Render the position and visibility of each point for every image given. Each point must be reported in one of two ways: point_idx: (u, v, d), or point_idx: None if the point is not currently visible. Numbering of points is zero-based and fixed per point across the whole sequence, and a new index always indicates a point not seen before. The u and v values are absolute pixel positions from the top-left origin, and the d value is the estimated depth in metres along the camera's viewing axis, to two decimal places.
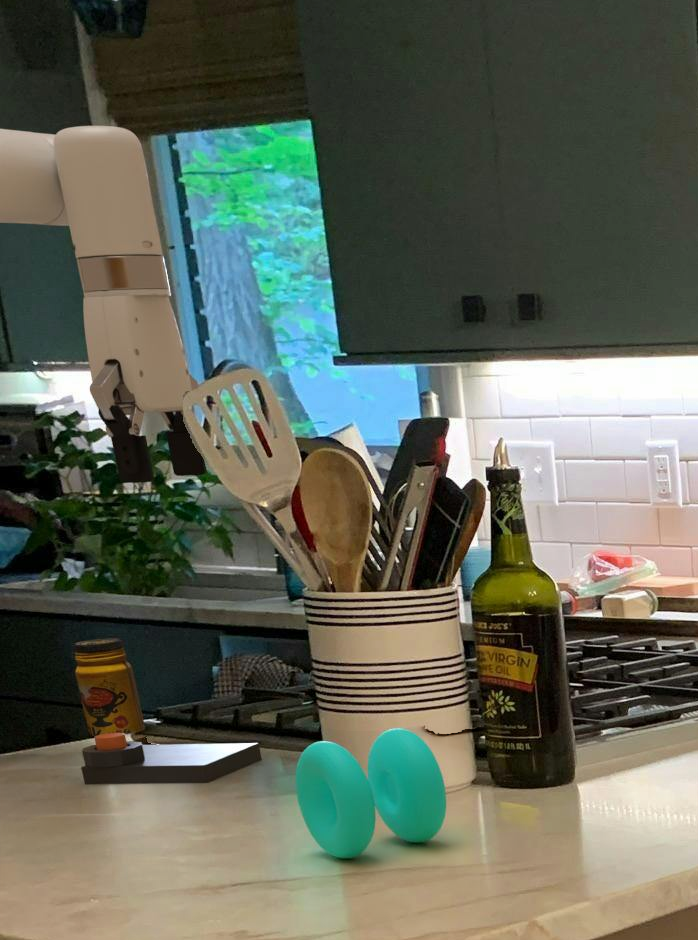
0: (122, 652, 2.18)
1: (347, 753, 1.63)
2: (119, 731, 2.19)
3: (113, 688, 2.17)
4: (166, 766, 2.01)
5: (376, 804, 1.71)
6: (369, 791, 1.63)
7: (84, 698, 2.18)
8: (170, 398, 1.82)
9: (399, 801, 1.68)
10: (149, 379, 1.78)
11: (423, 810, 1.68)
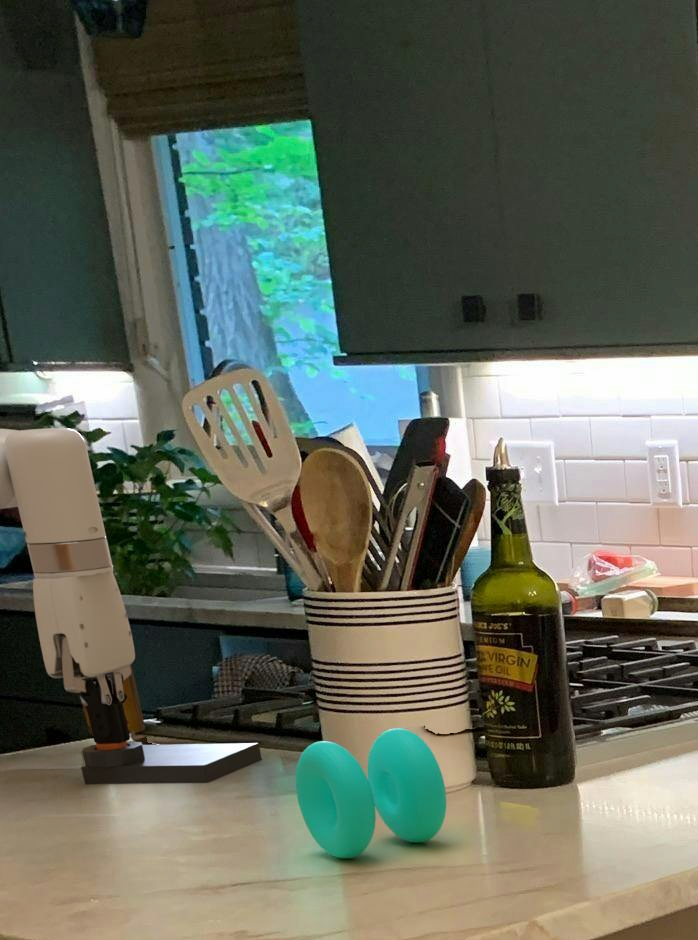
0: None
1: (347, 753, 1.63)
2: None
3: None
4: (166, 766, 2.01)
5: (376, 804, 1.71)
6: (369, 791, 1.63)
7: None
8: (114, 661, 2.00)
9: (399, 801, 1.68)
10: (94, 649, 1.96)
11: (423, 810, 1.68)
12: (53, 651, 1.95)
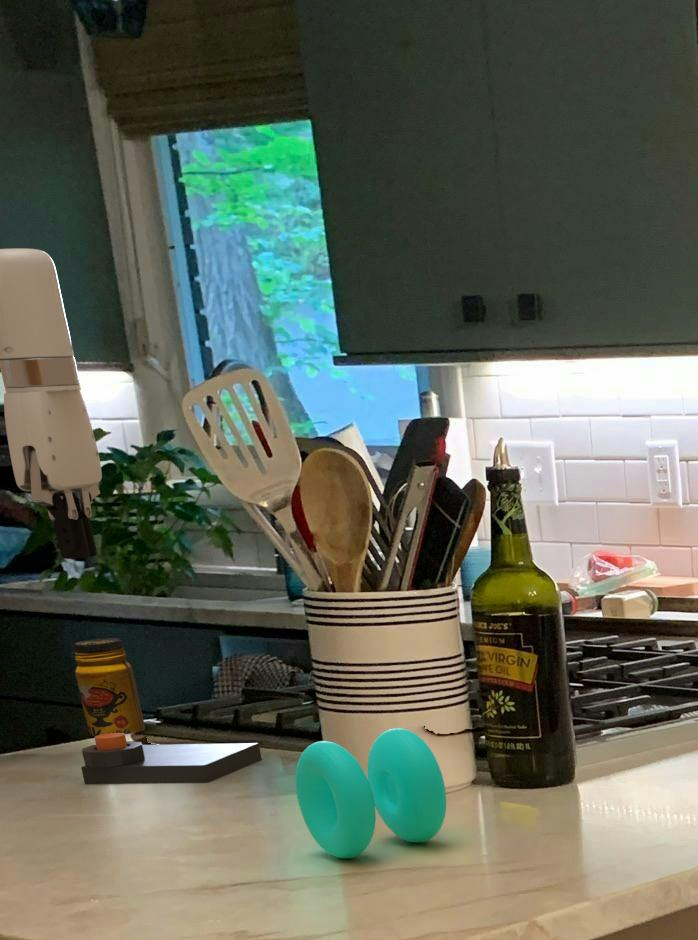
0: (122, 652, 2.18)
1: (347, 753, 1.63)
2: (119, 731, 2.19)
3: (113, 688, 2.17)
4: (166, 766, 2.01)
5: (376, 804, 1.71)
6: (369, 791, 1.63)
7: (84, 698, 2.18)
8: (81, 477, 2.11)
9: (399, 801, 1.68)
10: (61, 462, 2.07)
11: (423, 810, 1.68)
12: (22, 463, 2.06)
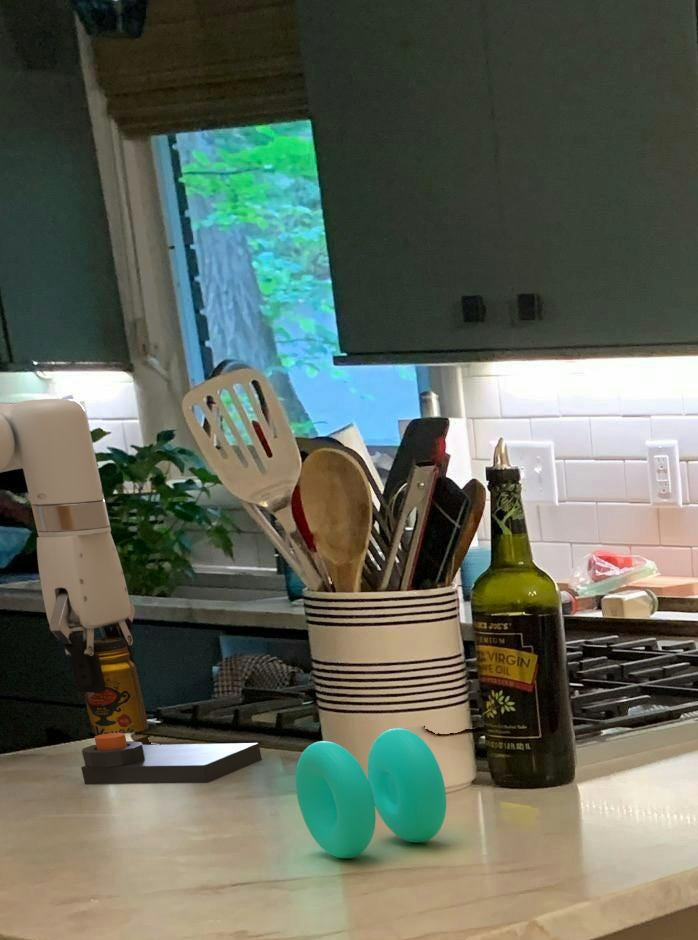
0: (126, 651, 2.19)
1: (347, 753, 1.63)
2: (122, 730, 2.20)
3: (116, 687, 2.18)
4: (166, 766, 2.01)
5: (376, 804, 1.71)
6: (369, 791, 1.63)
7: (88, 696, 2.19)
8: (111, 614, 2.17)
9: (399, 801, 1.68)
10: (92, 602, 2.14)
11: (423, 810, 1.68)
12: (55, 604, 2.12)
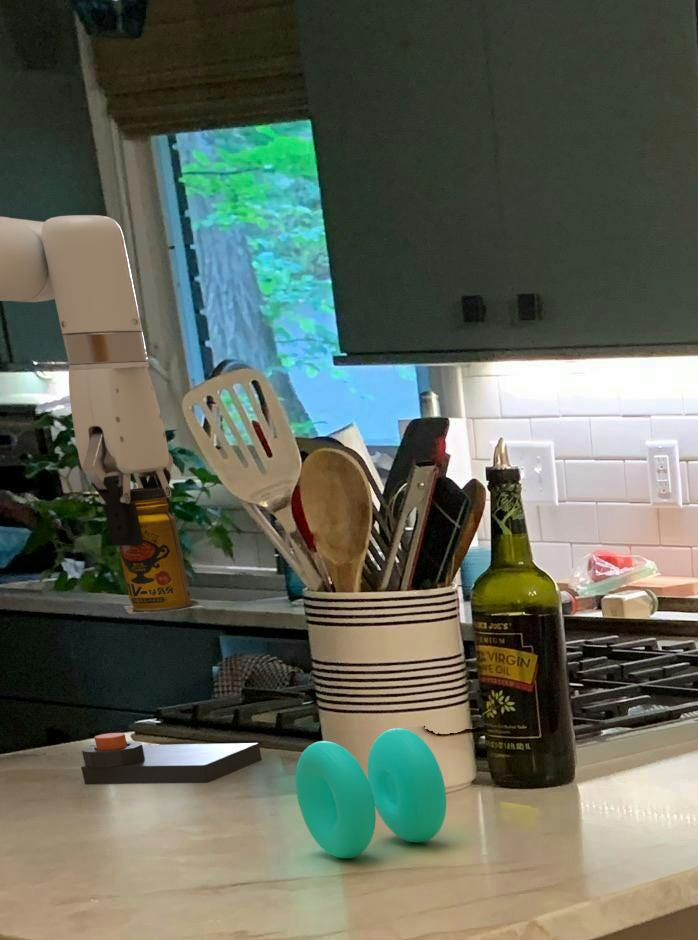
0: (165, 501, 2.00)
1: (347, 753, 1.63)
2: (161, 588, 2.01)
3: (154, 540, 1.99)
4: (166, 766, 2.01)
5: (376, 804, 1.71)
6: (369, 791, 1.63)
7: (123, 551, 2.00)
8: (148, 460, 1.98)
9: (399, 801, 1.68)
10: (129, 444, 1.95)
11: (423, 810, 1.68)
12: (88, 445, 1.93)
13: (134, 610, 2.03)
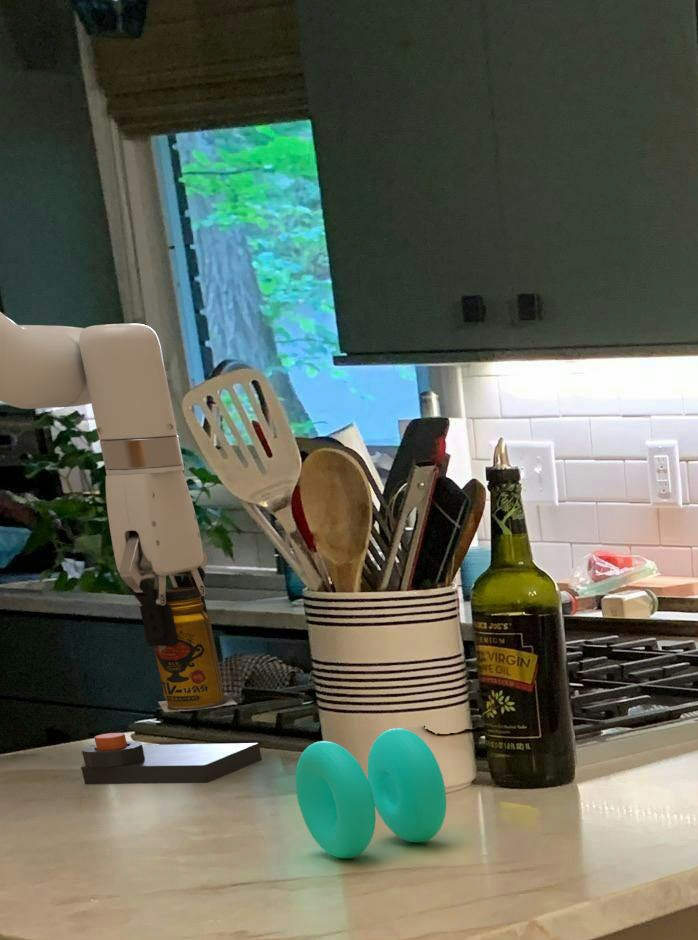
0: (199, 601, 2.02)
1: (347, 753, 1.63)
2: (196, 687, 2.03)
3: (189, 640, 2.01)
4: (166, 766, 2.01)
5: (376, 804, 1.71)
6: (369, 791, 1.63)
7: (159, 650, 2.02)
8: (184, 561, 2.00)
9: (399, 801, 1.68)
10: (165, 547, 1.97)
11: (423, 810, 1.68)
12: (125, 549, 1.95)
13: (169, 707, 2.05)
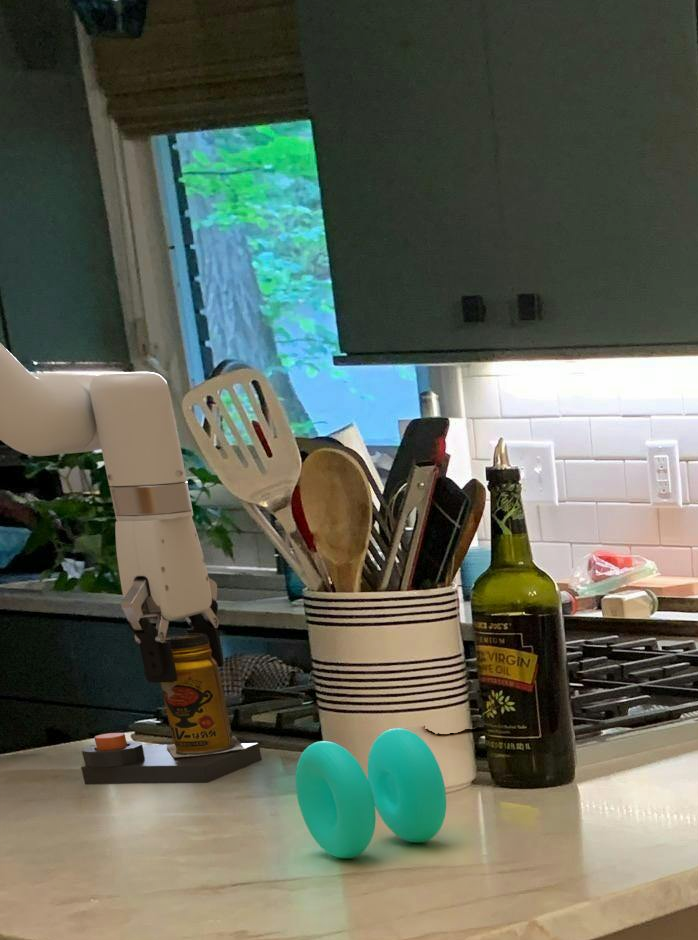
0: (208, 647, 2.04)
1: (347, 753, 1.63)
2: (204, 732, 2.05)
3: (198, 686, 2.03)
4: (166, 766, 2.01)
5: (376, 804, 1.71)
6: (369, 791, 1.63)
7: (167, 696, 2.04)
8: (192, 605, 2.02)
9: (399, 801, 1.68)
10: (174, 592, 1.98)
11: (423, 810, 1.68)
12: None
13: (177, 752, 2.07)
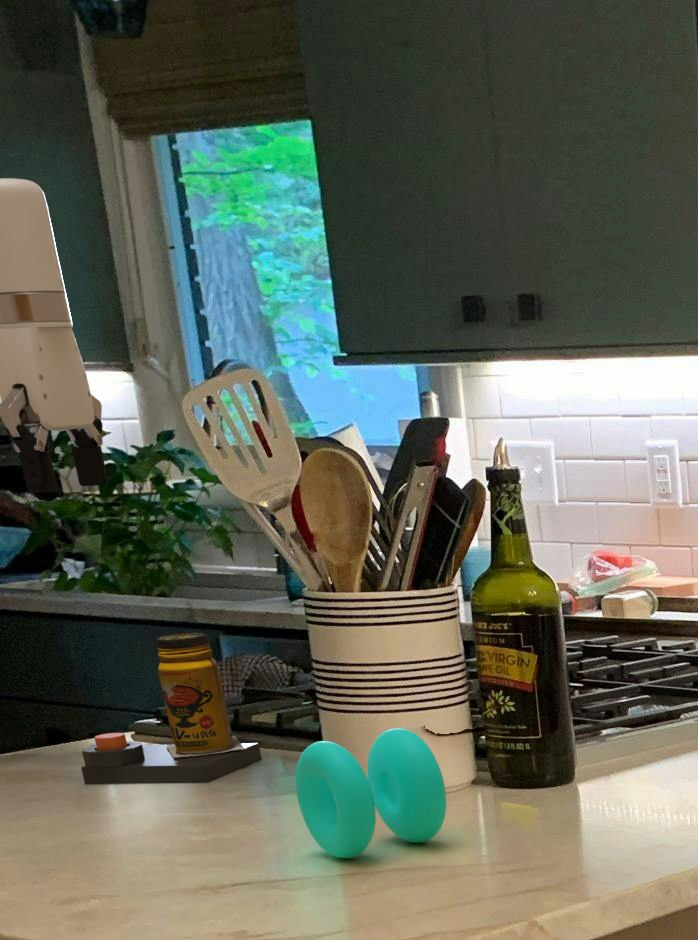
0: (208, 647, 2.04)
1: (347, 753, 1.63)
2: (204, 732, 2.05)
3: (198, 686, 2.03)
4: (166, 766, 2.01)
5: (376, 804, 1.71)
6: (369, 791, 1.63)
7: (167, 696, 2.04)
8: (73, 418, 2.05)
9: (399, 801, 1.68)
10: (53, 401, 2.01)
11: (423, 810, 1.68)
12: None
13: (177, 752, 2.07)
